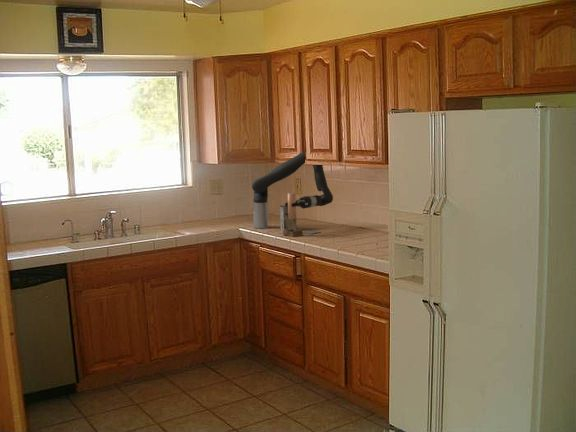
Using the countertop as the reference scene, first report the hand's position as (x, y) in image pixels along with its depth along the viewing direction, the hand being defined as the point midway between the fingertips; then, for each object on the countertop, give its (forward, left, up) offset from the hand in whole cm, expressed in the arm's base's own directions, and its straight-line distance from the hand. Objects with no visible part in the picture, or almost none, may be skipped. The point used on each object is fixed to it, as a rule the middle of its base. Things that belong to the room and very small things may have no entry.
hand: (288, 204), depth 418 cm
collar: (0, +3, -20) cm, 20 cm away
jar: (0, +3, -9) cm, 9 cm away
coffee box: (-18, +17, -20) cm, 31 cm away
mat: (+3, +16, -20) cm, 25 cm away
